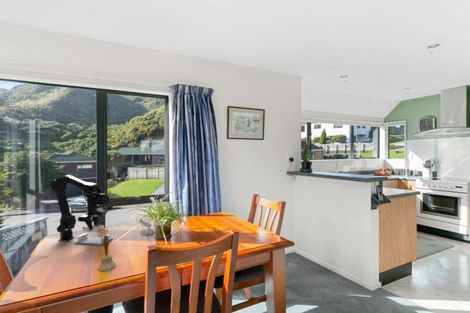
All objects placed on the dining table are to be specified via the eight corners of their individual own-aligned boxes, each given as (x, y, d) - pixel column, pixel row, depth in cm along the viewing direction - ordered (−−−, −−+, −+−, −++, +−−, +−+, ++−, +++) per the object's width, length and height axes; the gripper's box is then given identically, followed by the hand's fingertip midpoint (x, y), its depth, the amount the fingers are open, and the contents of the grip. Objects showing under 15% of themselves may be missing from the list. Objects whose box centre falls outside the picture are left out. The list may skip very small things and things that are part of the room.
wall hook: (142, 216, 191) (155, 217, 189) (142, 230, 191) (155, 230, 189) (135, 220, 182) (149, 221, 180) (136, 234, 183) (149, 235, 181)
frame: (82, 231, 169) (82, 226, 169) (87, 229, 173) (87, 224, 172) (99, 232, 167) (99, 227, 166) (104, 230, 170) (104, 225, 170)
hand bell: (95, 267, 135) (93, 236, 134) (112, 262, 141) (111, 231, 140) (101, 273, 129) (99, 240, 128) (118, 267, 135) (117, 235, 134)
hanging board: (74, 243, 167) (74, 237, 167) (86, 238, 177) (86, 232, 176) (102, 245, 163) (101, 239, 163) (112, 239, 173) (112, 233, 173)
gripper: (93, 208, 158) (94, 234, 159) (113, 201, 176) (114, 224, 177) (76, 207, 160) (77, 233, 161) (98, 200, 178) (99, 224, 179)
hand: (93, 228), depth 170 cm, fingers closed on frame, 4 cm apart
